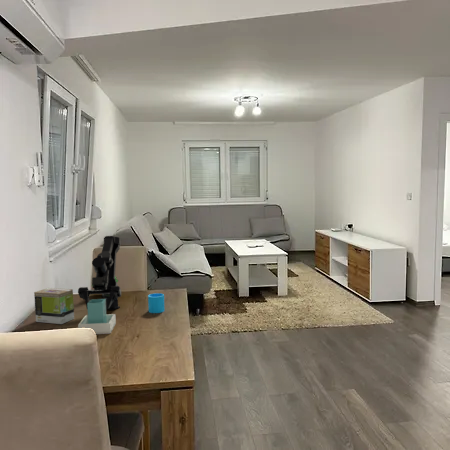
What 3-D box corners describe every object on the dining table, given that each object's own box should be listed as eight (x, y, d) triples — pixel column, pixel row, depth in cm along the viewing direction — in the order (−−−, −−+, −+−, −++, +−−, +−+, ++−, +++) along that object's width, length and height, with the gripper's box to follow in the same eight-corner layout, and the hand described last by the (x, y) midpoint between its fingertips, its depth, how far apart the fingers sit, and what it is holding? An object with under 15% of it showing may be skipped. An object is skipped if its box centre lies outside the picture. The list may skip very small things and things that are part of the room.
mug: (166, 312, 220) (165, 296, 219) (149, 314, 217) (149, 297, 217) (161, 306, 231) (161, 290, 231) (146, 307, 229) (145, 292, 228)
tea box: (75, 318, 212) (73, 288, 210) (61, 325, 202) (59, 293, 201) (49, 316, 216) (48, 286, 215) (35, 322, 207) (33, 291, 206)
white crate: (86, 324, 202) (85, 315, 201) (115, 323, 203) (115, 314, 202) (78, 334, 188) (78, 324, 188) (110, 333, 189) (110, 323, 189)
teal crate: (91, 325, 199) (90, 299, 197) (106, 324, 199) (105, 298, 198) (88, 330, 192) (87, 303, 191) (103, 329, 192) (102, 302, 191)
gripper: (77, 270, 199) (72, 300, 189) (119, 269, 201) (116, 298, 191) (82, 283, 208) (78, 312, 198) (122, 281, 209) (119, 311, 200)
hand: (97, 308), depth 196 cm, fingers open, 9 cm apart
